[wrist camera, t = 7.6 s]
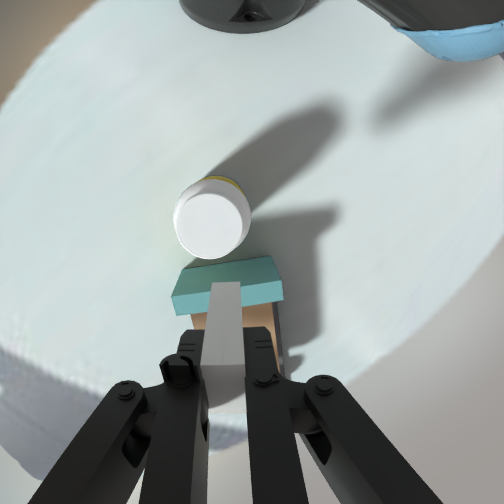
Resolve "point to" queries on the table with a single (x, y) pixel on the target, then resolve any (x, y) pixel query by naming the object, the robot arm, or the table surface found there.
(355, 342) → the table surface
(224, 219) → the pill bottle
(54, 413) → the table surface
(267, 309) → the slab
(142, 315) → the table surface
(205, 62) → the table surface
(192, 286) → the roller bed
